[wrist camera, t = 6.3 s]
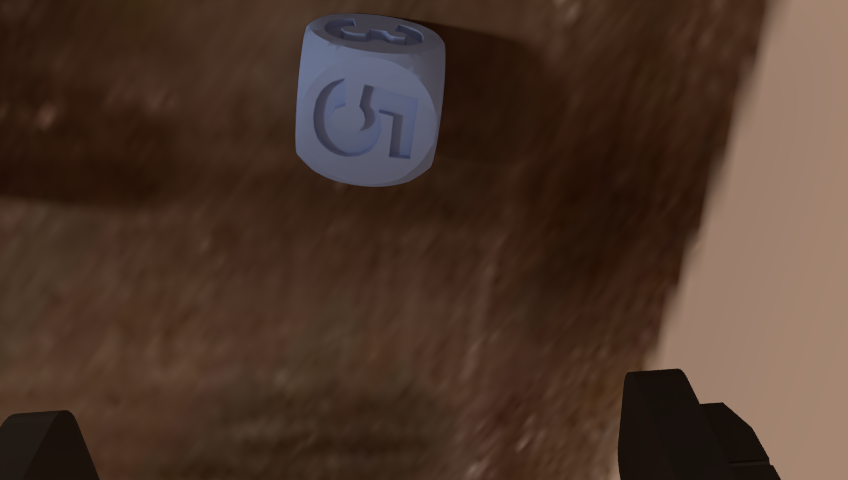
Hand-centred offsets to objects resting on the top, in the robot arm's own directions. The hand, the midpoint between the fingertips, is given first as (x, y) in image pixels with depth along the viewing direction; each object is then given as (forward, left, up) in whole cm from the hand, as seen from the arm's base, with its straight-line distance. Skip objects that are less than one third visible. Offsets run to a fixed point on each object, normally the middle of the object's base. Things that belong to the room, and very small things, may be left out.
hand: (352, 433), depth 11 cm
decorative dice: (0, 0, -16) cm, 16 cm away
